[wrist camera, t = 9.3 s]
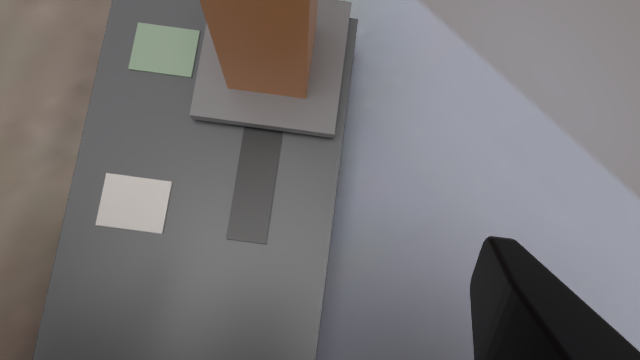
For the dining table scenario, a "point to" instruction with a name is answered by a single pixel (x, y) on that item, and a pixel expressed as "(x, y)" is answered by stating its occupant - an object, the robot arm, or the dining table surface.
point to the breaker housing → (187, 213)
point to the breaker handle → (272, 64)
